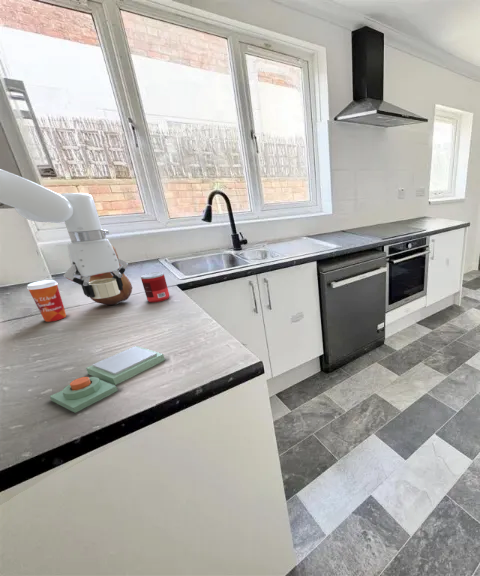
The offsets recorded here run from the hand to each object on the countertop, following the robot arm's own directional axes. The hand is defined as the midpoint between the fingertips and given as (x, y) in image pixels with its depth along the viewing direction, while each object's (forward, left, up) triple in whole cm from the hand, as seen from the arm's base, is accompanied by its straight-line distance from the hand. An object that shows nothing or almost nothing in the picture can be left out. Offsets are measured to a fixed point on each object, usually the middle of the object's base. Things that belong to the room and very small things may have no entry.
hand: (105, 292), depth 97 cm
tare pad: (-22, -29, -14) cm, 39 cm away
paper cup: (-2, +36, -14) cm, 39 cm away
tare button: (-22, -29, -12) cm, 38 cm away
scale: (-11, -25, -14) cm, 31 cm away
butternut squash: (+15, +32, -14) cm, 38 cm away
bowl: (0, 0, -1) cm, 1 cm away
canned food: (+25, +20, -14) cm, 35 cm away
